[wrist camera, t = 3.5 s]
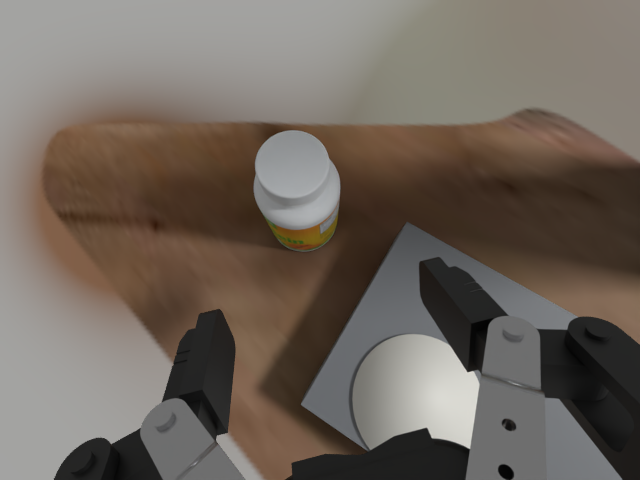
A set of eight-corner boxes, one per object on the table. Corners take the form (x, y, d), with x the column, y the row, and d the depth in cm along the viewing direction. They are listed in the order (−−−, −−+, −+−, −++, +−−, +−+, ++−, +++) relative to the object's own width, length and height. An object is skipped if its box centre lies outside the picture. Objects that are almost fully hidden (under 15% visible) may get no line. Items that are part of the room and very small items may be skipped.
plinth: (398, 233, 26) (407, 220, 23) (621, 359, 23) (666, 364, 20) (304, 395, 23) (300, 405, 20) (546, 561, 20) (585, 603, 17)
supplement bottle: (258, 230, 26) (220, 177, 17) (295, 178, 28) (278, 102, 18) (314, 265, 26) (306, 230, 16) (349, 210, 27) (361, 147, 17)
